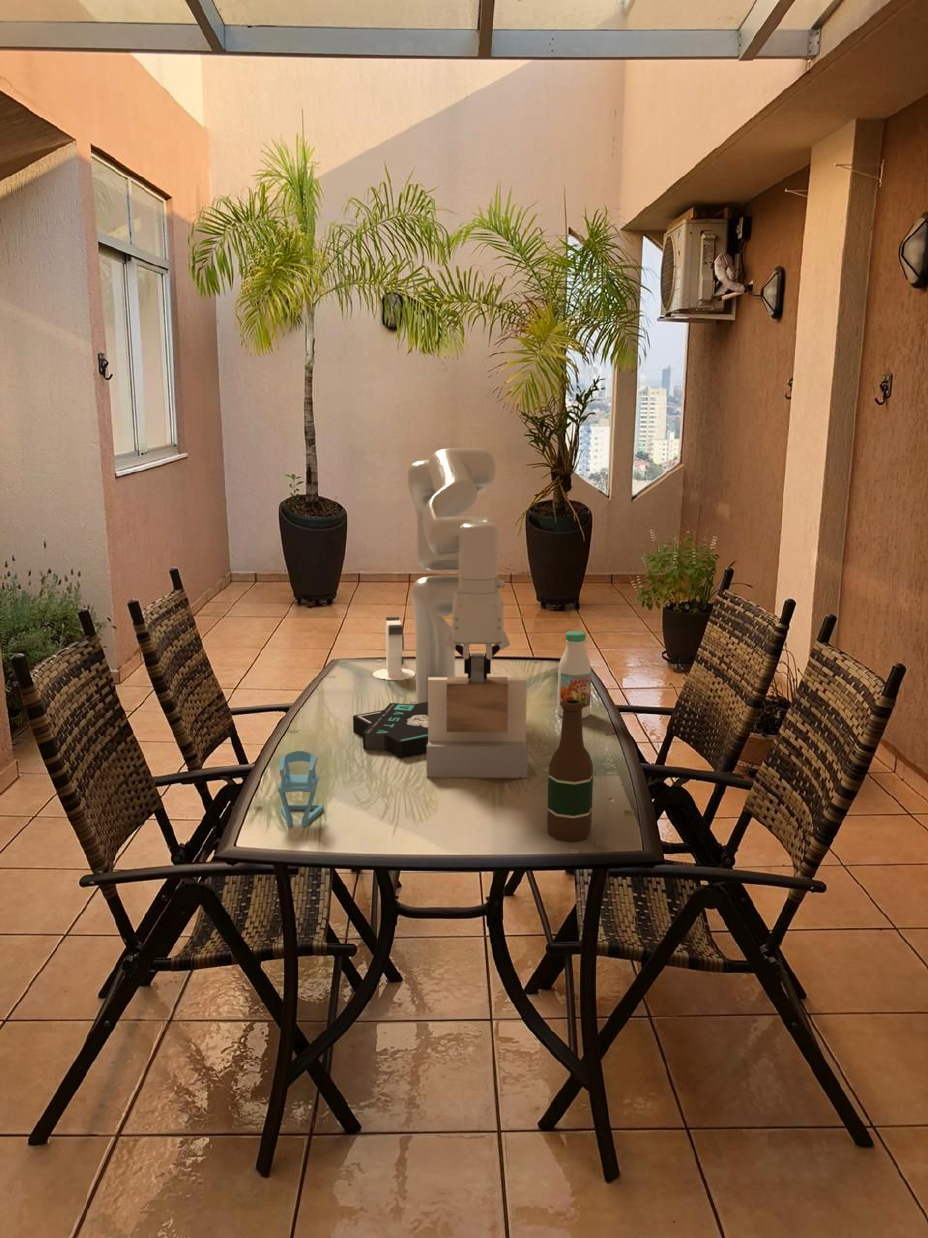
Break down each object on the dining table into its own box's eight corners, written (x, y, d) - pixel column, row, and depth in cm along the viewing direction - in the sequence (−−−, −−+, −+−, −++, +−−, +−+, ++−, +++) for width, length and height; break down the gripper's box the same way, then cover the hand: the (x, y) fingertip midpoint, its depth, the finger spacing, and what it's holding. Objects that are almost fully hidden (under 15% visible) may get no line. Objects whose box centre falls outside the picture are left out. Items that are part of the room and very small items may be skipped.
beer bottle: (543, 825, 189) (546, 695, 184) (587, 824, 190) (591, 694, 184) (550, 843, 181) (553, 708, 176) (595, 842, 182) (599, 708, 177)
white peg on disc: (417, 680, 280) (417, 625, 277) (374, 682, 279) (373, 626, 276) (413, 668, 292) (412, 615, 289) (371, 670, 290) (370, 616, 287)
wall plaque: (332, 755, 225) (471, 766, 219) (331, 737, 224) (471, 747, 218) (372, 713, 254) (496, 721, 248) (372, 696, 253) (496, 704, 247)
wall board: (428, 760, 221) (428, 677, 217) (525, 761, 221) (526, 677, 217) (426, 777, 212) (426, 690, 208) (527, 778, 211) (528, 691, 208)
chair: (274, 828, 188) (272, 763, 185) (281, 809, 196) (279, 747, 193) (318, 827, 188) (316, 763, 185) (323, 808, 196) (322, 747, 193)
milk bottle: (550, 714, 252) (552, 632, 248) (572, 707, 257) (574, 627, 253) (574, 722, 247) (576, 638, 242) (596, 715, 252) (599, 633, 247)
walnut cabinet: (447, 724, 215) (447, 652, 212) (506, 724, 215) (507, 652, 212) (446, 732, 211) (446, 658, 207) (507, 732, 210) (508, 659, 207)
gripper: (518, 582, 210) (517, 672, 214) (437, 582, 210) (437, 671, 214) (520, 590, 203) (518, 682, 207) (435, 589, 203) (436, 682, 207)
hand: (477, 676), depth 211 cm, fingers closed on walnut cabinet, 2 cm apart
